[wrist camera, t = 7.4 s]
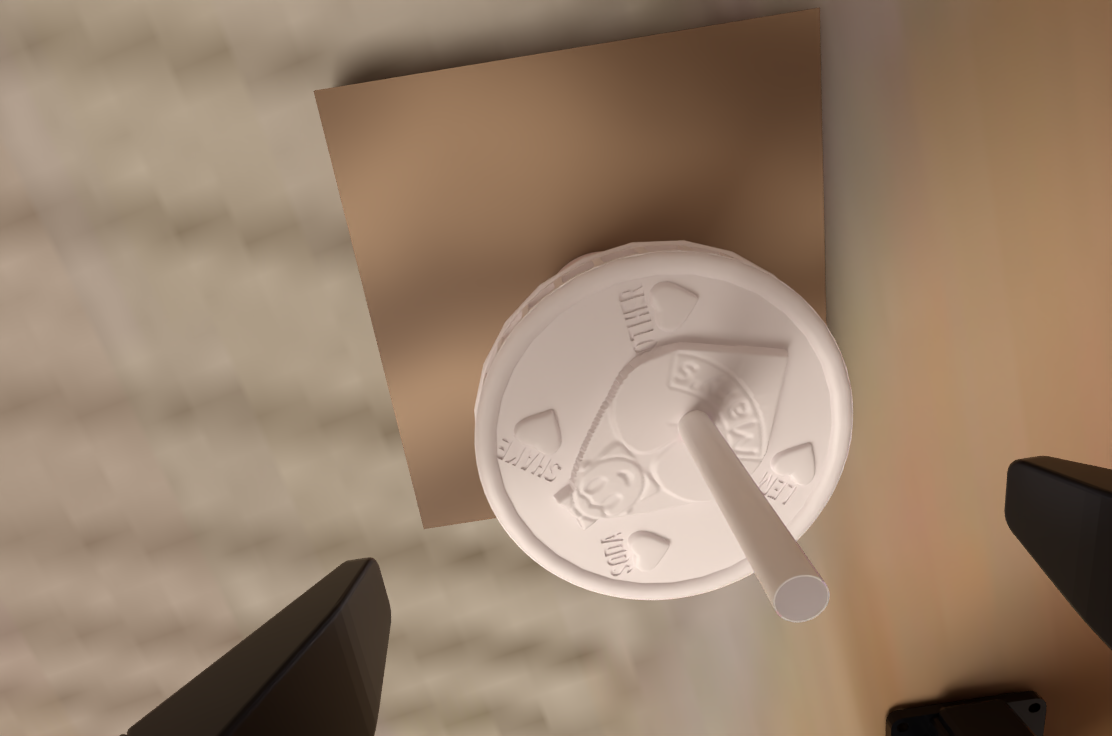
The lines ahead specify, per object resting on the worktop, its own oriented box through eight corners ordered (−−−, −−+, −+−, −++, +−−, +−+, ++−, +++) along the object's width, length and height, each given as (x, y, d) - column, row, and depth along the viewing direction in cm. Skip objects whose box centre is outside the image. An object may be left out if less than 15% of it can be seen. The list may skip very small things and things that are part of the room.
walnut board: (810, 447, 23) (829, 466, 21) (430, 506, 23) (423, 528, 22) (797, 19, 19) (819, 7, 17) (330, 96, 19) (313, 90, 17)
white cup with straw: (745, 324, 20) (1180, 653, 7) (586, 444, 21) (681, 938, 8) (621, 157, 18) (867, 144, 5) (455, 298, 19) (283, 605, 6)
